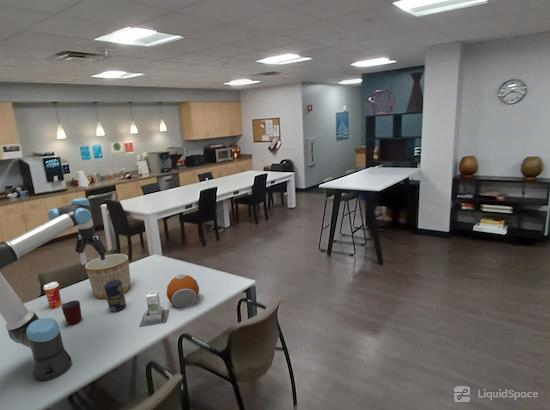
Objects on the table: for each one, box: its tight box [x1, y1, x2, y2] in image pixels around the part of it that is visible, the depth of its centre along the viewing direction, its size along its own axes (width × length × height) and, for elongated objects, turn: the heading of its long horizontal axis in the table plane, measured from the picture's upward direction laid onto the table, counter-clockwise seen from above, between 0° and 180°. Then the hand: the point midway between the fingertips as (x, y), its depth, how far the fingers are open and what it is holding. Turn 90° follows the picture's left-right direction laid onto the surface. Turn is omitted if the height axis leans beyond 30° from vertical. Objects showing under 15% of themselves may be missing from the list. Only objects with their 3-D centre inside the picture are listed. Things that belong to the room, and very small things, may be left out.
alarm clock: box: [166, 273, 200, 308], centre depth 210 cm, size 19×18×17 cm
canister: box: [104, 280, 127, 312], centre depth 208 cm, size 10×10×18 cm
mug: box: [61, 300, 83, 326], centre depth 199 cm, size 12×9×11 cm
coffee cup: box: [43, 281, 62, 310], centre depth 218 cm, size 8×8×15 cm
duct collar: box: [139, 306, 170, 328], centre depth 195 cm, size 14×14×4 cm
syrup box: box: [145, 290, 162, 316], centre depth 194 cm, size 6×6×14 cm
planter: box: [84, 253, 131, 299], centre depth 232 cm, size 26×26×22 cm
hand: (93, 264), depth 188 cm, fingers open, 13 cm apart
